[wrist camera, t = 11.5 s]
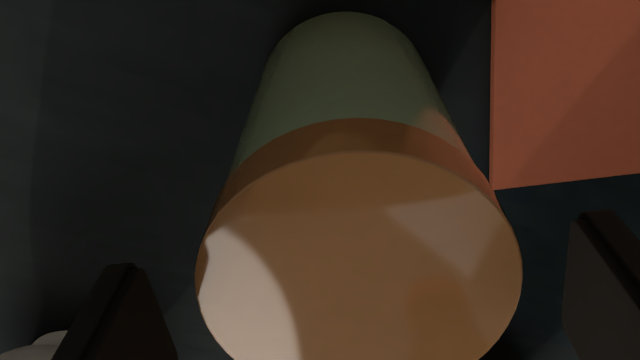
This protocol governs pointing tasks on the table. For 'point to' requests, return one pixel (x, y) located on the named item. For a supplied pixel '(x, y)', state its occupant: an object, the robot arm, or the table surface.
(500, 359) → the cola bottle
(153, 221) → the table surface
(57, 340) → the teacup
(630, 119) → the board
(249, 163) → the jar
